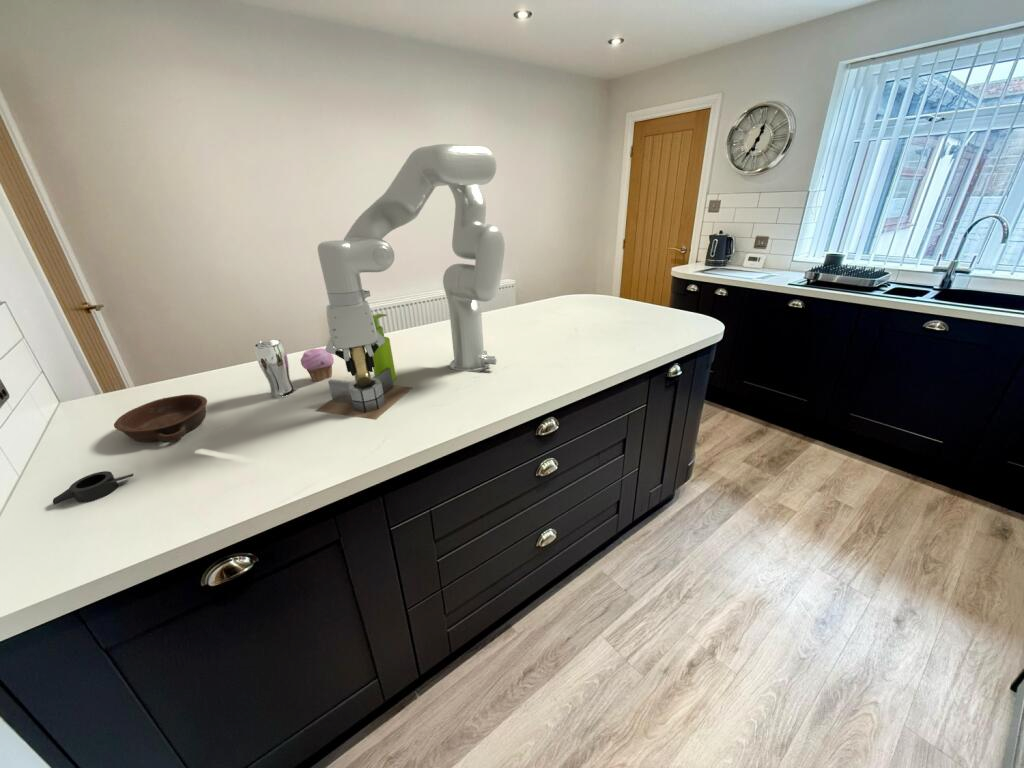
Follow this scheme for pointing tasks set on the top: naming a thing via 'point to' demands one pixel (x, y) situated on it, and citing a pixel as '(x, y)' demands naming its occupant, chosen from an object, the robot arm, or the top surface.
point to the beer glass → (275, 366)
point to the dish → (163, 418)
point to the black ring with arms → (91, 487)
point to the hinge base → (348, 410)
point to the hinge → (363, 392)
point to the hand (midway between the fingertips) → (361, 371)
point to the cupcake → (318, 364)
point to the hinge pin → (360, 365)
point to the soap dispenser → (383, 352)
